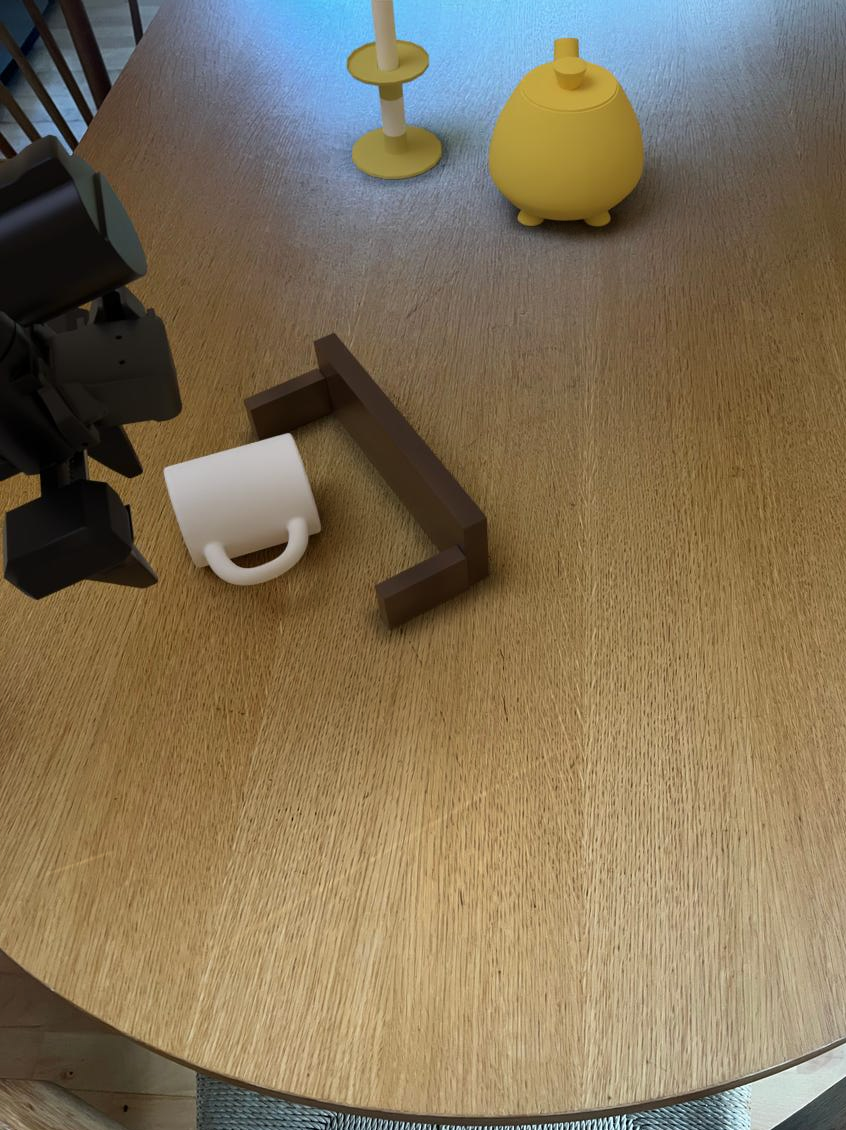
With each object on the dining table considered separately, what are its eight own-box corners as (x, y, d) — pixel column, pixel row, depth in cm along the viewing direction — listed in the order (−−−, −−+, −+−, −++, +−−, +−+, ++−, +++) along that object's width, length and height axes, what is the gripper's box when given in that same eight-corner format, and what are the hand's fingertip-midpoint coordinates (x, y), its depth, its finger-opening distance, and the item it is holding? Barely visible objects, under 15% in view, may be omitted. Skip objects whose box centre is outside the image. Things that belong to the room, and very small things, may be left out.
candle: (433, 182, 108) (412, -115, 85) (342, 176, 109) (297, -119, 86) (449, 130, 113) (434, -162, 91) (362, 124, 114) (325, -166, 92)
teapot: (494, 132, 113) (492, -1, 101) (635, 132, 112) (649, -2, 100) (485, 244, 102) (482, 108, 90) (642, 245, 101) (658, 108, 89)
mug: (184, 515, 83) (155, 446, 76) (302, 481, 85) (284, 411, 78) (215, 628, 77) (186, 564, 70) (341, 589, 79) (325, 523, 72)
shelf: (389, 630, 76) (379, 574, 70) (252, 433, 88) (234, 371, 82) (490, 578, 79) (489, 519, 73) (344, 393, 90) (333, 330, 85)
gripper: (126, 412, 44) (285, 592, 57) (95, 176, 54) (237, 375, 67) (-94, 513, 45) (112, 667, 58) (-84, 263, 55) (90, 442, 68)
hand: (143, 526), depth 63 cm, fingers open, 9 cm apart
